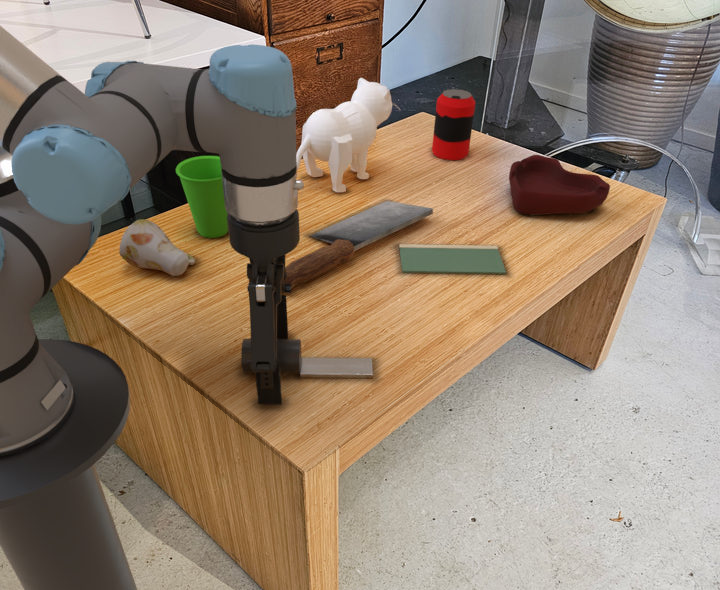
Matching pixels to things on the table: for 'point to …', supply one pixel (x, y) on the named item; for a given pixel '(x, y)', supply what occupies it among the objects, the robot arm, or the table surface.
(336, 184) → the cat figurine
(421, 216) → the meat cleaver
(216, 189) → the cup
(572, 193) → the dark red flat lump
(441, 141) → the soda can
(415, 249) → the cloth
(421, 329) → the table surface
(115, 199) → the robot arm
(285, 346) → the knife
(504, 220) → the table surface
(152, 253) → the pale spotted pear
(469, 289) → the table surface
